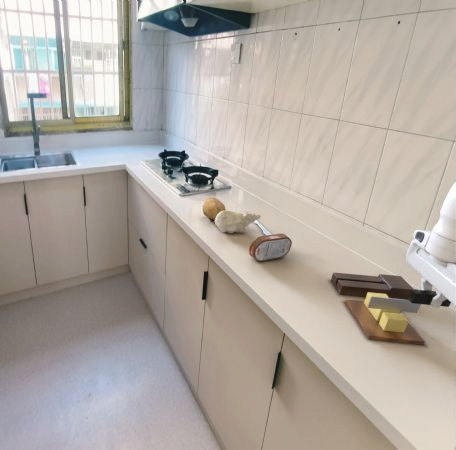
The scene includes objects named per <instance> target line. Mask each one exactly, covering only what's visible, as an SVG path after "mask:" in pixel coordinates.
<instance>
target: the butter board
mask: <svg viewBox="0 0 456 450" xmlns="http://www.w3.org/2000/svg"><path fill="white" fill-rule="evenodd" d="M364 302H365V300H355V299H354V300H353V299H345V300H344V304H345V305H346V307H347V309H348V310H349V312H350V313H351V315H352V317H353V318H354V319H355V321H356V323H357V325H358V326H359V328H360V329H361V330H362V332H363V333H364V335H365V337H366V338H367V340H373V341H383V342H392V343H401V344H410V345H420V346H424V345H425V342H426V341H425V340H424V338H422V336H421V335H420V334H419V333H418V332H417V331H416V329H415V328H414V327H413V326H412V324H411V323H410V321H409V322H408V324H407V327H406V329H405V331H404V333H403V332H393V331H384V330H383V329H382V327H381V326H380V325H379V322H380V321H377V320H376V319H375V318H374V316H373V315H372V314H371V312H370V311H369V310H368V308H367V307H366V305H365V304H364ZM400 314H402V313H401V312H400Z"/></svg>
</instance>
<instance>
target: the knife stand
mask: <svg viewBox="0 0 456 450" xmlns="http://www.w3.org/2000/svg"><path fill="white" fill-rule="evenodd" d="M330 282H331V285H333V287H334V288H335V290H336V291H337V294H339V295H340V296H349V297H359V298H361V297H362V298H366V296H367V293H368V292H370V293H380V294H386V295H387V296H388V297H389V298H394V299H404V300H408V297H409V294H410V292H411V290H412V289H414V287H412V286H411V284H410V283H409V282H407V281H406V280H405V279H404V277H403V276H401V275H393V274H382V273H379V274H378V275H367V274H357V273H355V274H354V273H346V272H336V271H335V272H332V275H331V279H330Z"/></svg>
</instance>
